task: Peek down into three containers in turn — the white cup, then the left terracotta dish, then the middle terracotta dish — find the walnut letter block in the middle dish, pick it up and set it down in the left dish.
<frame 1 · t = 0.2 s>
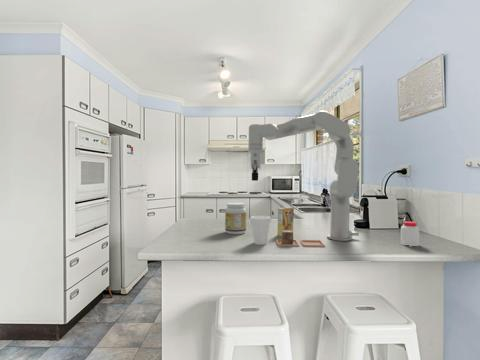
hand: (255, 180, 156), 31 cm above the table, fingers open, 9 cm apart
candy box: (285, 235, 162), on the table
dish middle: (287, 244, 142), on the table
supplement tub: (235, 232, 169), on the table
pill bottle: (409, 245, 143), on the table
cup: (260, 244, 143), on the table
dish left: (312, 244, 141), on the table
letter block: (287, 243, 142), resting on dish middle
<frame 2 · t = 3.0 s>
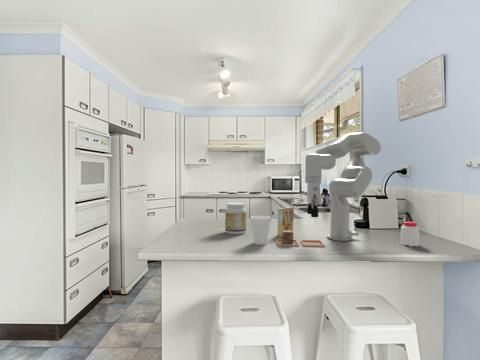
hand: (312, 215, 141), 14 cm above the table, fingers open, 9 cm apart
nothing on the table moved.
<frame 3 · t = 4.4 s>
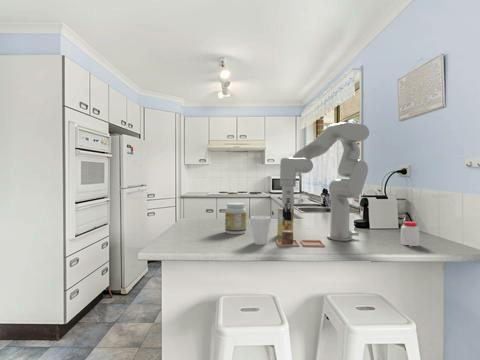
hand: (286, 218, 141), 13 cm above the table, fingers open, 9 cm apart
nothing on the table moved.
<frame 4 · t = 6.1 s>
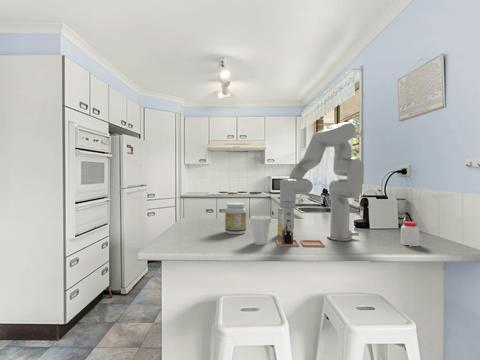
hand: (287, 241, 142), 1 cm above the table, fingers closed on letter block, 5 cm apart
letter block: (287, 243, 142), resting on dish middle, touching gripper
everything else where it was.
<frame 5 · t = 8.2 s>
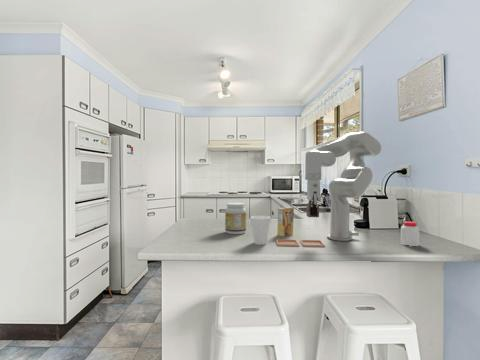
hand: (312, 214, 141), 15 cm above the table, fingers closed on letter block, 5 cm apart
letter block: (312, 216, 141), point 14 cm above the table, touching gripper
everything else where it was.
when the fingers open (3 cm above the table, at t = 10.7 s): letter block drops 1 cm, resting on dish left.
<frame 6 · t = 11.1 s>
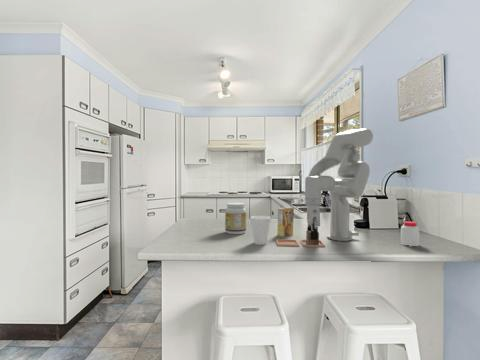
hand: (312, 237, 141), 4 cm above the table, fingers open, 9 cm apart
letter block: (312, 244, 141), resting on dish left
everything else where it was.
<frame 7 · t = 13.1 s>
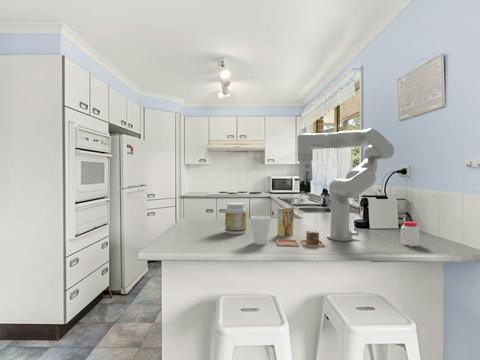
hand: (305, 192, 149), 25 cm above the table, fingers open, 9 cm apart
nothing on the table moved.
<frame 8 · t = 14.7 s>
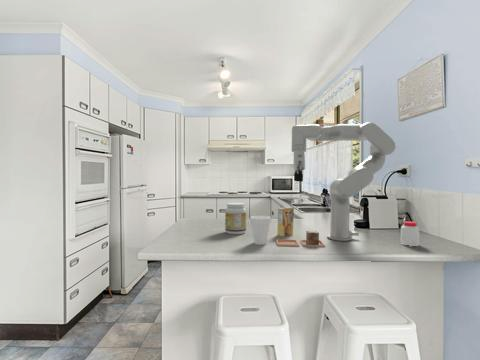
hand: (298, 181, 156), 30 cm above the table, fingers open, 9 cm apart
nothing on the table moved.
at the end: letter block inside the target area on the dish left (0.0 cm from its centre), point 0.4 cm above the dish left's base; letter block tilted 0°; the gripper is holding nothing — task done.
